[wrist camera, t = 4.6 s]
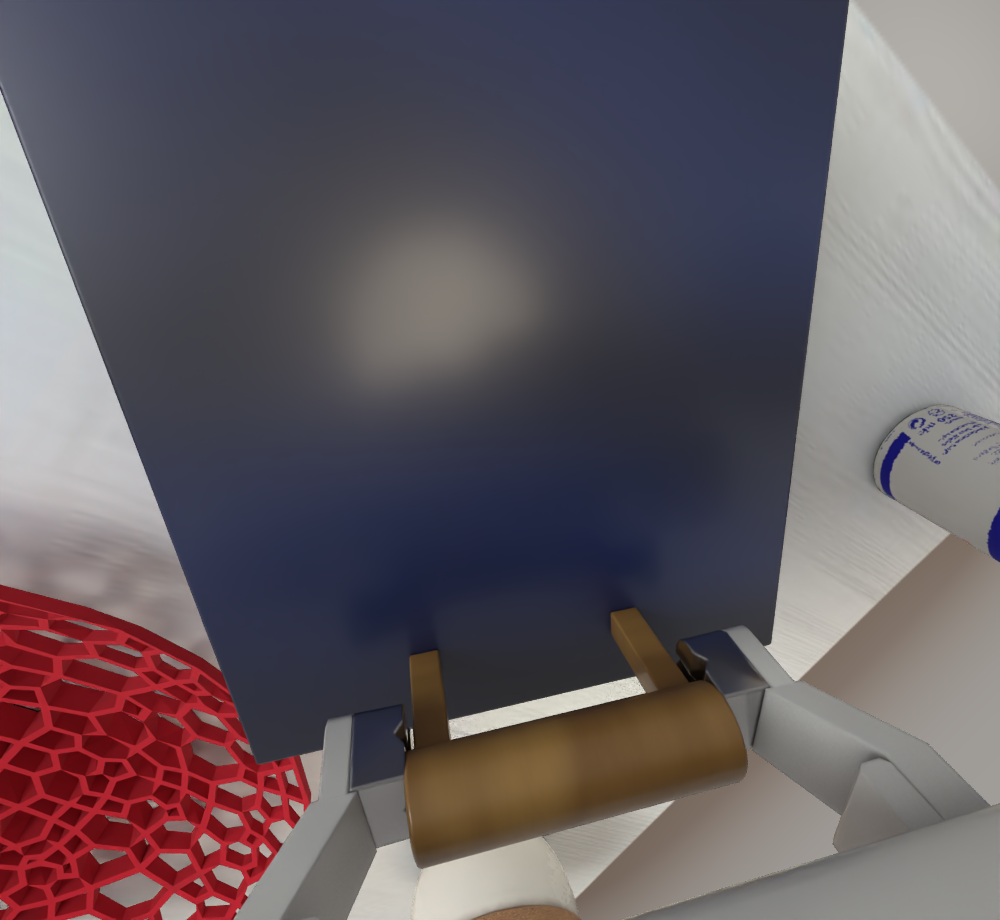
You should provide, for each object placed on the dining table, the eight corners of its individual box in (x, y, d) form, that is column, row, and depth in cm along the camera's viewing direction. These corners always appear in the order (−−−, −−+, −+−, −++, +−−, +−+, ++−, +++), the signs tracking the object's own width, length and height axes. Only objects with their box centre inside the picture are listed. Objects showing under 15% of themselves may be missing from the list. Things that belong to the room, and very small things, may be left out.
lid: (754, 627, 16) (915, 791, 11) (263, 739, 14) (196, 1002, 9) (842, -216, 9) (1360, -749, 4) (-95, -240, 7) (-1154, -1329, 2)
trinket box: (491, 767, 35) (527, 946, 26) (580, 821, 39) (634, 986, 31) (370, 853, 36) (368, 1049, 28) (470, 895, 41) (494, 1071, 33)
